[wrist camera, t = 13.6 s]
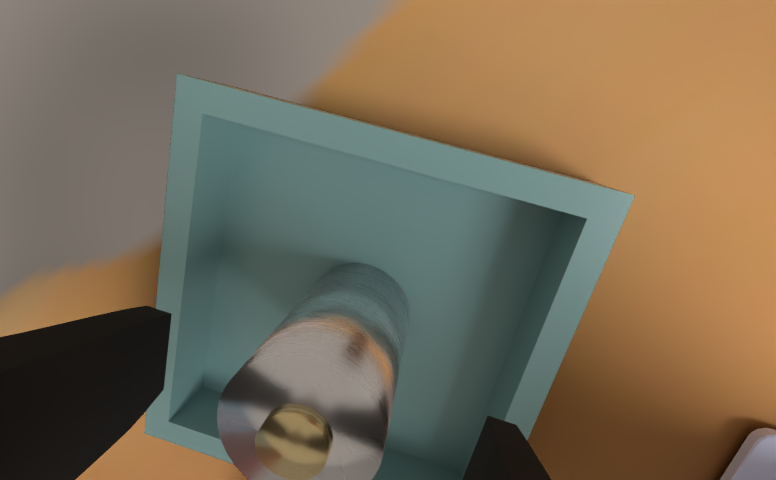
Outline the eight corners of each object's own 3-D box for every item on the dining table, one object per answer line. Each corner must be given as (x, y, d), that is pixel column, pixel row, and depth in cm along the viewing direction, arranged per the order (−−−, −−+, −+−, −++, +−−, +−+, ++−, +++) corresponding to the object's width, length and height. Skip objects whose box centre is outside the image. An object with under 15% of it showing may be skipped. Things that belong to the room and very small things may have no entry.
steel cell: (420, 278, 12) (399, 398, 7) (397, 369, 13) (361, 543, 8) (317, 252, 13) (213, 347, 7) (302, 342, 14) (198, 492, 8)
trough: (596, 183, 12) (635, 195, 9) (474, 482, 15) (479, 548, 12) (229, 85, 12) (177, 73, 10) (190, 388, 16) (144, 433, 13)
